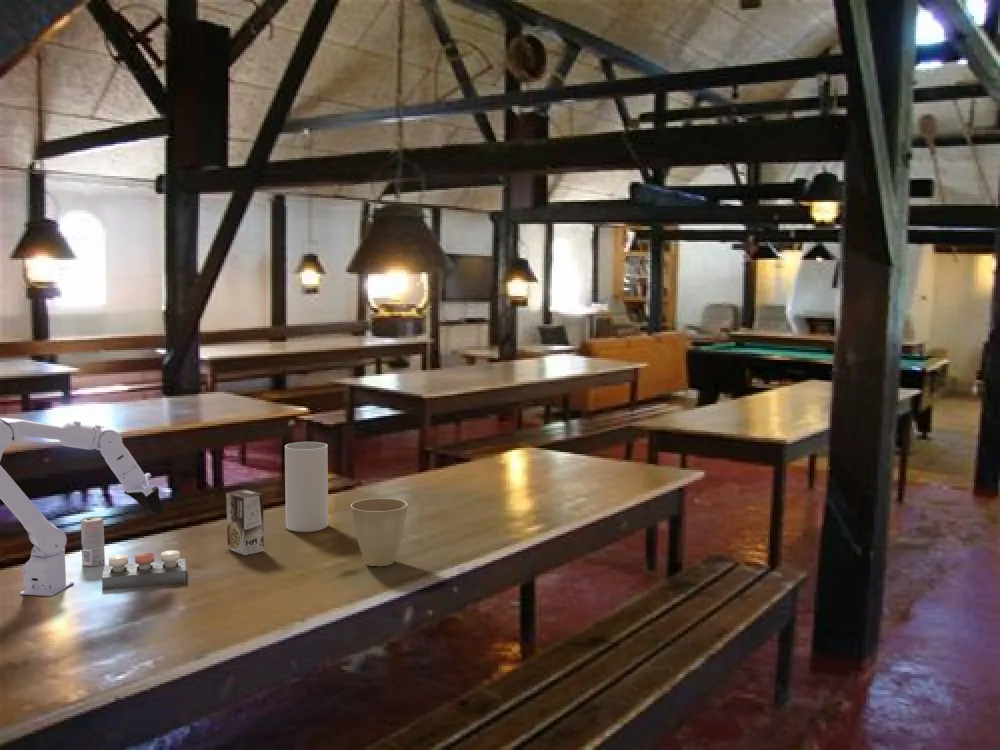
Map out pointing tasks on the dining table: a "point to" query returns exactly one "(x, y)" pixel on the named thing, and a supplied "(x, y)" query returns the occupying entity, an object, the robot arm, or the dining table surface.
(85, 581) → the dining table surface
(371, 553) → the plant pot
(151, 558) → the middle cap
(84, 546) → the energy drink
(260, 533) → the coffee box
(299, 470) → the cylinder vase
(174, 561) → the far cap
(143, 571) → the mount
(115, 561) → the near cap
